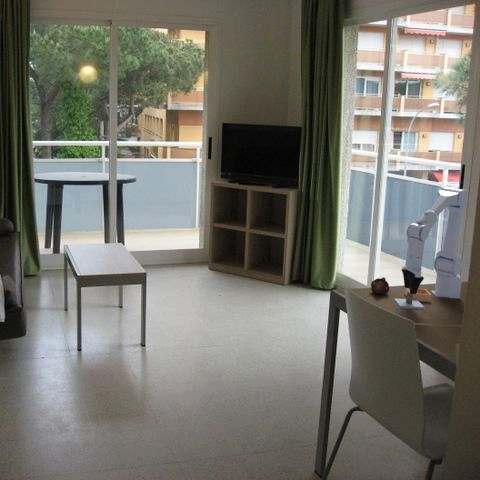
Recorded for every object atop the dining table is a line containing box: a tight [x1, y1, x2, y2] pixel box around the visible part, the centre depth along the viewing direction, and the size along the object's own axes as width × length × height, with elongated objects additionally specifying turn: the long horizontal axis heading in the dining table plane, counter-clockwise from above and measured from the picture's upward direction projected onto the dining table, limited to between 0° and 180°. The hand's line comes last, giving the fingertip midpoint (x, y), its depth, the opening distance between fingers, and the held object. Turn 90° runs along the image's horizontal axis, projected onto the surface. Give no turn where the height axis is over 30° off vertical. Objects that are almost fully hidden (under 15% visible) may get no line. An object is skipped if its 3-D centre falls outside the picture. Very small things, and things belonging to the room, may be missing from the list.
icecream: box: [370, 276, 390, 295], centre depth 270 cm, size 7×7×15 cm
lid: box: [393, 293, 425, 310], centre depth 258 cm, size 9×9×4 cm
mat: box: [392, 299, 426, 311], centre depth 258 cm, size 10×10×1 cm
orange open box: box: [404, 287, 432, 303], centre depth 267 cm, size 8×8×4 cm
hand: (410, 290), depth 257 cm, fingers open, 7 cm apart
